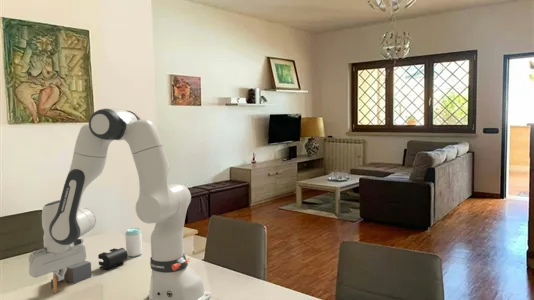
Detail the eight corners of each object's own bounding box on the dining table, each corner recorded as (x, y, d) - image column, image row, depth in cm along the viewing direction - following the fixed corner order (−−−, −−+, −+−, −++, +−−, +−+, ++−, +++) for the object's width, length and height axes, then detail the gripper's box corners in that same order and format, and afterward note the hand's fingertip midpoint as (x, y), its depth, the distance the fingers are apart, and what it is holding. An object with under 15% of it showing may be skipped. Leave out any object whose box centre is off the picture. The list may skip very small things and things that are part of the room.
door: (56, 292, 145) (55, 277, 144) (51, 293, 144) (50, 278, 144) (57, 278, 157) (56, 265, 157) (53, 279, 157) (52, 266, 156)
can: (145, 252, 187) (143, 227, 186) (138, 257, 180) (136, 231, 179) (131, 251, 188) (129, 227, 187) (123, 257, 181) (122, 231, 180)
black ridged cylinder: (109, 271, 165) (108, 255, 164) (98, 268, 168) (97, 253, 167) (128, 263, 173) (127, 248, 173) (116, 261, 177) (116, 246, 176)
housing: (91, 276, 159) (90, 260, 159) (73, 283, 153) (72, 267, 152) (76, 272, 165) (75, 256, 164) (58, 279, 158) (57, 263, 157)
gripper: (33, 254, 136) (36, 292, 137) (87, 237, 153) (89, 272, 154) (23, 251, 139) (26, 289, 140) (77, 235, 157) (80, 269, 158)
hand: (60, 280), depth 148 cm, fingers closed
